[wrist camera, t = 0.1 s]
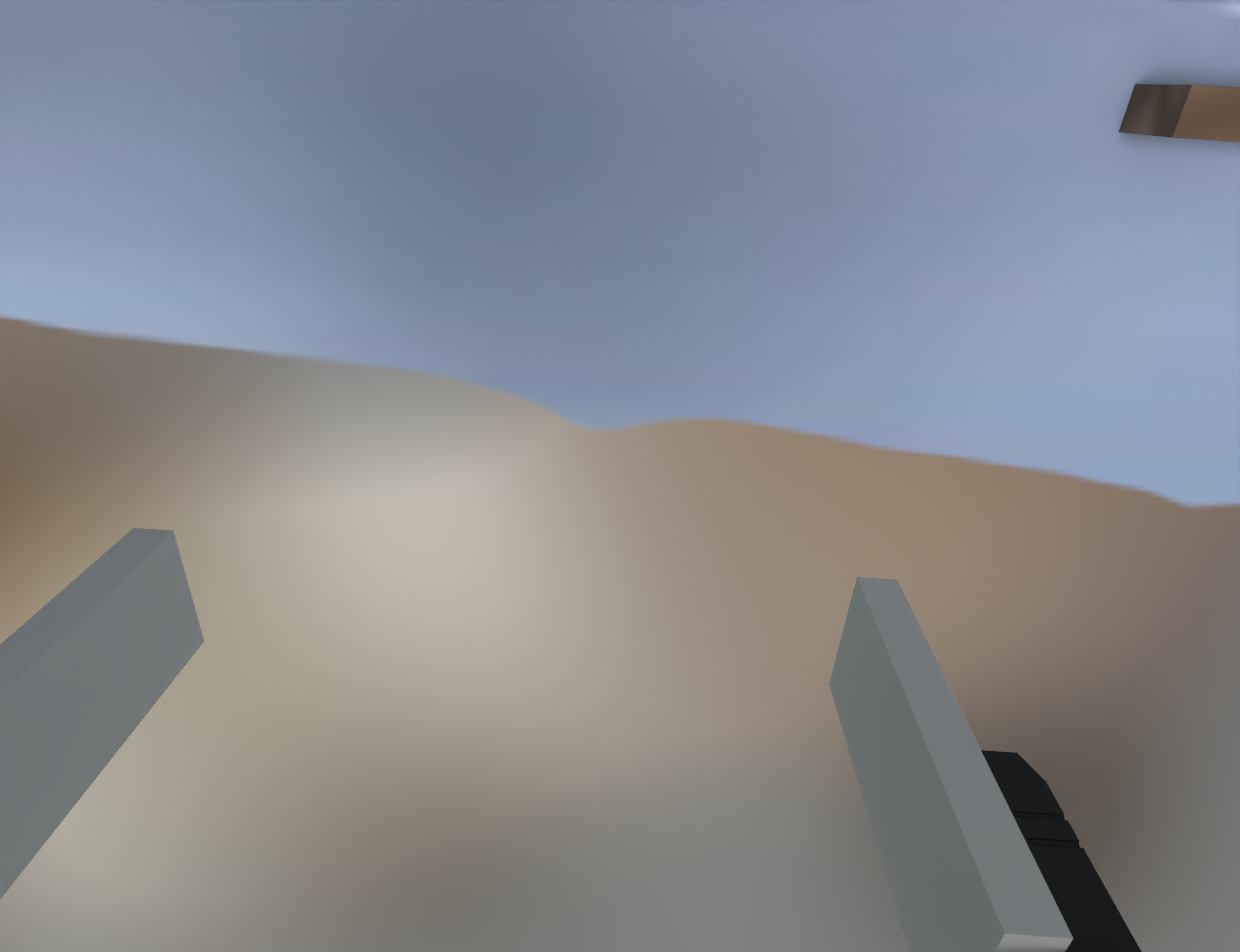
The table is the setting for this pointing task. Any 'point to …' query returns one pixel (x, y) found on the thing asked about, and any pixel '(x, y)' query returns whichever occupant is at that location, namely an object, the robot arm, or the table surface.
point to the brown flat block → (1184, 112)
